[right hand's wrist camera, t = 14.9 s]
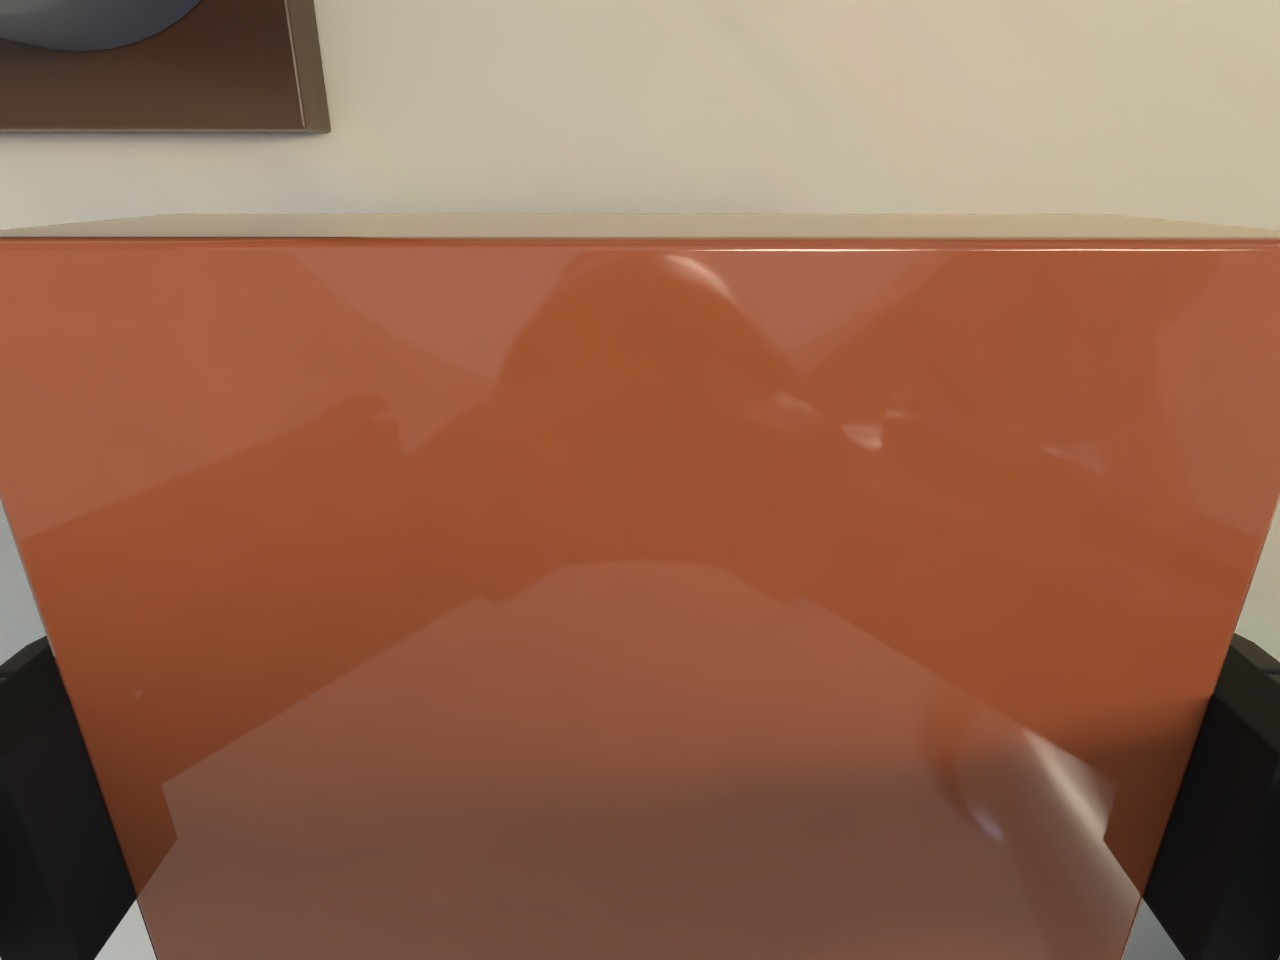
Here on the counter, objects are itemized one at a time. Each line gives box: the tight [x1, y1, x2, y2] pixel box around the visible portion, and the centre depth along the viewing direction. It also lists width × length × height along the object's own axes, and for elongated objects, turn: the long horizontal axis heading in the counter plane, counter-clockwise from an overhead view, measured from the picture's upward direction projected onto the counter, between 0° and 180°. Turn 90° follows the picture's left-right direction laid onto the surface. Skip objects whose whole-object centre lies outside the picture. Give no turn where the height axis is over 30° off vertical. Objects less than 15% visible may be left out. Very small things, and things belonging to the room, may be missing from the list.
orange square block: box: [0, 214, 1280, 960], centre depth 10 cm, size 11×11×5 cm
